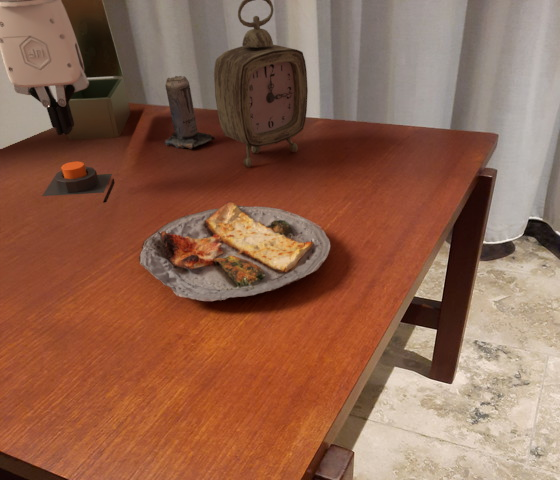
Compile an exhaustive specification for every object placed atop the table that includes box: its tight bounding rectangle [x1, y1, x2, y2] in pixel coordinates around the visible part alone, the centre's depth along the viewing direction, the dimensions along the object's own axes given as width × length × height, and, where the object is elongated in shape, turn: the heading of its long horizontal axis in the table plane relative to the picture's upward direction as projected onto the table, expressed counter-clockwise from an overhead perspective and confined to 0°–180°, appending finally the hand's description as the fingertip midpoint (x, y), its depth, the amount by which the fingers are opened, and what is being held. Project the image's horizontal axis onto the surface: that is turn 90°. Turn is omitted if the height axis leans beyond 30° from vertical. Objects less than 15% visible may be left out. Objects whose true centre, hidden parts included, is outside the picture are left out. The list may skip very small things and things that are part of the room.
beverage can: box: [164, 75, 216, 150], centre depth 106 cm, size 9×8×12 cm
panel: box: [41, 165, 115, 204], centre depth 92 cm, size 10×8×4 cm
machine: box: [66, 76, 131, 141], centre depth 113 cm, size 16×10×9 cm, turn 3°
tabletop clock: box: [213, 0, 309, 168], centre depth 95 cm, size 14×9×25 cm, turn 129°
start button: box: [61, 161, 87, 179], centre depth 90 cm, size 4×4×2 cm
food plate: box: [138, 200, 331, 302], centre depth 73 cm, size 25×23×4 cm
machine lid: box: [61, 0, 124, 79], centre depth 110 cm, size 16×10×5 cm
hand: (65, 131), depth 86 cm, fingers closed
